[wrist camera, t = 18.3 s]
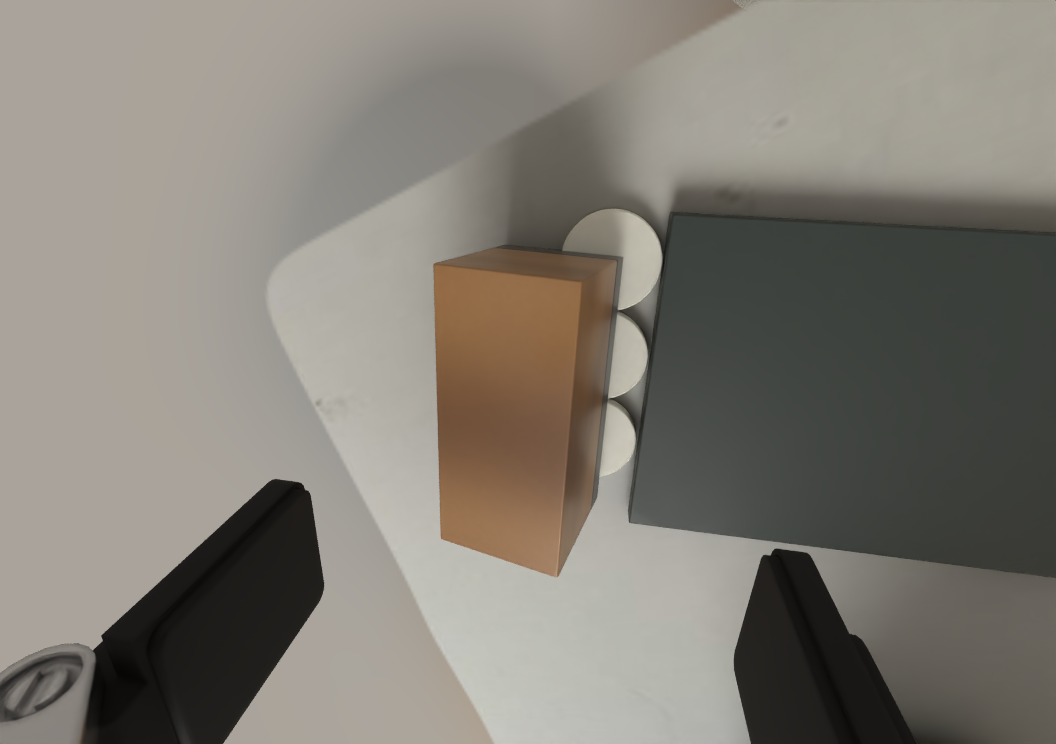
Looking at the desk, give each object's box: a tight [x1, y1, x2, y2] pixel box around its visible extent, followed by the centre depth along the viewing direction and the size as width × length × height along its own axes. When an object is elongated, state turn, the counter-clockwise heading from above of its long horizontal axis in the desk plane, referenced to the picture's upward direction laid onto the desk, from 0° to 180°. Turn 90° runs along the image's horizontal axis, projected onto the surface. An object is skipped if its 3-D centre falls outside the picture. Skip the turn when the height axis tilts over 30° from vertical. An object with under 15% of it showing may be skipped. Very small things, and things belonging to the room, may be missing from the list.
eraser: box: [434, 245, 623, 577], centre depth 20 cm, size 11×5×6 cm, turn 178°
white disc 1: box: [562, 208, 663, 310], centre depth 20 cm, size 4×4×1 cm
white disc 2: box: [608, 311, 648, 399], centre depth 22 cm, size 4×4×1 cm
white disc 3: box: [599, 398, 636, 476], centre depth 23 cm, size 4×4×1 cm
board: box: [628, 212, 1056, 578], centre depth 20 cm, size 14×24×1 cm, turn 88°
